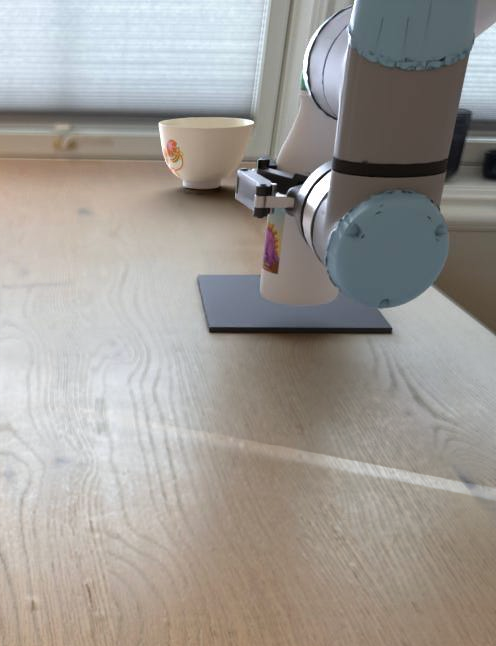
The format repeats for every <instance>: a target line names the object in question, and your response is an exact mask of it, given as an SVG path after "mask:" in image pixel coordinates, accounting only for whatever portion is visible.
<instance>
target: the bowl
mask: <svg viewBox="0 0 496 646" xmlns="http://www.w3.org/2000/svg"><path fill="white" fill-rule="evenodd" d="M254 125H255V122H254V120H250V119H247V118H238V117H221V116H219V117H217V116H206V117H205V116H201V117H198V116H197V117H181V118H171V119H165V120H161V121H159V122H158V130H159V136H160V144H161V150H162V154H163V158H164V161H165V164H166V165H167V167H168V168H169V169H170V172H172V174H174V175H175V176H176V177H177V178H179V179H180V180H182V186H183V188H185V189H190V190H213V189H217V188H219V187H220V186H221V182H222V180H224V179H225V178H228V177H229V176H230V175H231V174H232V173H233V172H235V171H236V169H237V168H238V167H239V166H240V164H241V163H242V161H243V159H244V157H245V154H246V152H247V148H248V146H249V142H250V139H251V136H252V132H253V130H254Z"/></svg>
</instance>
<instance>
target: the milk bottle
mask: <svg viewBox="0 0 496 646" xmlns="http://www.w3.org/2000/svg"><path fill="white" fill-rule="evenodd" d="M299 81H300V82H299V93H298V96H299V98H300V104H299V108H298V112H297V114H296V116H295V119H294V122H293V125H292V127H291V129H290V131H289V133H288V135H287V136H286V139H285V141H284V142H283V144H282V146H281V148H280V151H279V153H278V155H277V159H276V161H275V164H276V165H277V170H278V171H282V172H285V173H289V174H293V175H294V174H295V173H306V172H310V173H313V172H314V171H315V170H316V169H318V168H319V167H320V166H322V165H323V164H325V163H326V162H328V161H330V160H332V159H333V155H334V147H335V139H336V131H337V122H338V120H334V119H333V118H331V117H328V116H326V115H325V113H324V112H323V111H322V110H320V109H318V108H317V107H316V105H315V104H314V102H313V100H312V99H311V97H310V96H309V93H308V91H307V88H306V85H305V81H304V75H303V70H302V71H301V73H300V80H299ZM262 254H263V256H262V263H261V264H262V265H261V273H260V275H261V283H260V293H261V295H262V297H263V298H264V299H267V300H269V301H272V302H276V303H281V304H288V305H318V304H324V303H328V302H331V301H333V300H335V298H336V297H337V295H338V292H339V290H338V288H337V287H335V286H334V285H333V284H332V282H331V281H330V279H329V276H328V274H327V272H326V268H325V267H324V265H323V264H322V263H321V262H320V261H319V259H318V258H317V256H316V255H315V253H314V252H313V251H312V250H311V248H310V247H309V246H308V245H307V243H306V242H305V240H304V239H303V237H302V236H301V234H300V232H299V230H298V227H297V224H296V220H295V217H293V216H290V215H288V214H287V213H286V212H285V208H275V209H274V214H272V215H269V214H268V215H267V219H266V228H265V237H264V246H263V253H262Z"/></svg>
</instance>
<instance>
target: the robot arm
mask: <svg viewBox="0 0 496 646" xmlns="http://www.w3.org/2000/svg"><path fill="white" fill-rule="evenodd" d="M494 24H496V0H354V2H353V5H348V6H346V7H345V8H341V9H339V10H337V11H336V12H335V13H334V14H332V15H330V17H328V18H327V19H325V20H324V22H322V24H321V25H320V26H319V27H318V28H317V29H316V31H314V34H313V35H312V36H311V39H310V41H309V43H308V45H307V48H306V51H305V53H304V58H303V66H302V68H303V69H302V71H303V75H304V81H305V85H306V88H307V91H308V93H309V96H310V97H311V99H312V100H313V102H314V104H315V105H316V107H317V108H318V109H320V110H322V111H323V112H324V113H325V115H326V116H328V117H331V118H333V119H334V120H338V122H337V131H336V139H335V147H334V155H333V159H332V160H330V161H328V162H326V163H325V164H323V165H322V166H320V167H319V168H318V169H316V170H315V171H314V172H313V173H310V172H306V173H295V174H294V175H293V174H289V173H285V172H282V171H278V170H277V165H276V162H274V161H273V159H272V158H271V157H270V155H260V158H258V159H257V163H256V168H252V169H250V168H247V167H241V168H239V169H237V175H236V184H235V194H234V195H235V197H234V198H235V200H237V201H238V202H240V203H241V204H242V205H244V206H245V207H246V208H248V209H249V210H250V211H252V216H253V217H254V218H256V219H263V218H268V214H269V215H272V214H274V209H275V208H285V212H286V213H287V214H288V215H290V216H293V217H295V220H296V224H297V227H298V230H299V232H300V234H301V236H302V237H303V239H304V240H305V242H306V243H307V245H308V246H309V247H310V248H311V250H312V251H313V252H314V253H315V255H316V256H317V258H318V259H319V261H320V262H321V263H322V264H323V265H324V267H325V268H326V272H327V274H328V276H329V279H330V281H331V282H332V284H333V285H334V286H335V287H337V288H338V290H339V291H341V292H343V293H344V294H345V295H346V296H348V297H349V298H350V299H352V300H354V301H355V302H357V303H359V304H361V305H364V306H367V307H372V308H377V309H378V310H383V309H391V308H396V307H400V306H403V305H405V304H408V303H410V302H411V301H413V300H415V299H417V298H418V297H420V296H421V295H422V294H424V293H425V292H426V291H427V290H428V289H429V288H430V287H431V286H432V285H433V284H434V283H435V281H436V280H437V279H438V277H439V276H440V274H441V273H442V271H443V269H444V267H445V264H446V262H447V259H448V254H449V249H450V233H449V230H448V225H447V223H446V219H445V216H444V215H443V213H442V212H441V203H442V196H443V192H444V186H445V181H446V176H447V171H448V170H447V167H448V161H449V155H450V150H451V145H452V140H453V137H454V132H455V126H456V122H457V117H458V112H459V109H460V108H459V107H460V103H461V97H462V92H463V88H464V85H465V84H464V83H465V78H466V72H467V69H468V63H469V59H470V55H471V52H472V50H473V47H474V45H475V40H476V39H477V38H478V37H479V36H480V35H482V34H483V33H484V32H485V31H487V30H488V29H489V28H491V27H492V26H493V25H494Z"/></svg>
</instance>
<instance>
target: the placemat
mask: <svg viewBox="0 0 496 646" xmlns="http://www.w3.org/2000/svg"><path fill="white" fill-rule="evenodd" d="M196 281H197V284H198V289H199V294H200V298H201V302H202V307H203V311H204V316H205V320H206V324H207V325H206V326H207V328H208V329H207V330H208V332H209V333H338V334H339V333H344V334H345V333H349V334H350V333H353V334H358V333H361V334H363V333H364V334H365V333H366V334H367V333H368V334H369V333H370V334H372V333H373V334H390V333H391V334H392V333H393V327H392V326H391V324H390V323H389V321H388V320H387V319H386V317H385V316H384V315H383V313H382V312H381V311H380V309H379V308H372V307H367V306H364V305H361V304H359V303H357V302H355V301H354V300H352V299H350V298H349V297H348V296H346V295H345V294H344V293H343V292H341V291H339V292H338V295H337V297H336V298H335V300H333V301H331V302H328V303H324V304H318V305H288V304H281V303H276V302H272V301H269V300H267V299H264V298H263V297H262V295H261V293H260V283H261V274H196Z"/></svg>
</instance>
